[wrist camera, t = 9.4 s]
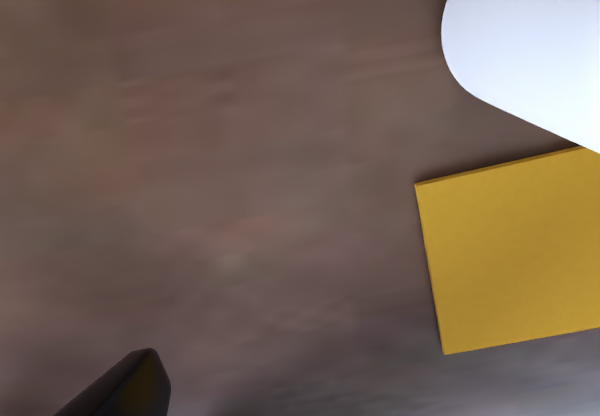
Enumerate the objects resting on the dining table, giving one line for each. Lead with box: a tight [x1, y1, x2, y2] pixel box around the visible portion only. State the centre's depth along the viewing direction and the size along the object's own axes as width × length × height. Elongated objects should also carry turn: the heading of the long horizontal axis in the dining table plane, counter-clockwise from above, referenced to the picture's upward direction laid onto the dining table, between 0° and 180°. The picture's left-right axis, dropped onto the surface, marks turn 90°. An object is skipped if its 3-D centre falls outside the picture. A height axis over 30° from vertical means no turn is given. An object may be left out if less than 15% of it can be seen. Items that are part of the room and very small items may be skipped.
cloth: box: [415, 146, 600, 355], centre depth 21 cm, size 10×12×1 cm
